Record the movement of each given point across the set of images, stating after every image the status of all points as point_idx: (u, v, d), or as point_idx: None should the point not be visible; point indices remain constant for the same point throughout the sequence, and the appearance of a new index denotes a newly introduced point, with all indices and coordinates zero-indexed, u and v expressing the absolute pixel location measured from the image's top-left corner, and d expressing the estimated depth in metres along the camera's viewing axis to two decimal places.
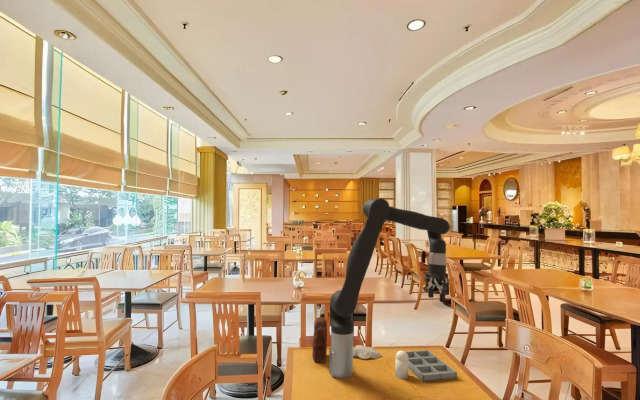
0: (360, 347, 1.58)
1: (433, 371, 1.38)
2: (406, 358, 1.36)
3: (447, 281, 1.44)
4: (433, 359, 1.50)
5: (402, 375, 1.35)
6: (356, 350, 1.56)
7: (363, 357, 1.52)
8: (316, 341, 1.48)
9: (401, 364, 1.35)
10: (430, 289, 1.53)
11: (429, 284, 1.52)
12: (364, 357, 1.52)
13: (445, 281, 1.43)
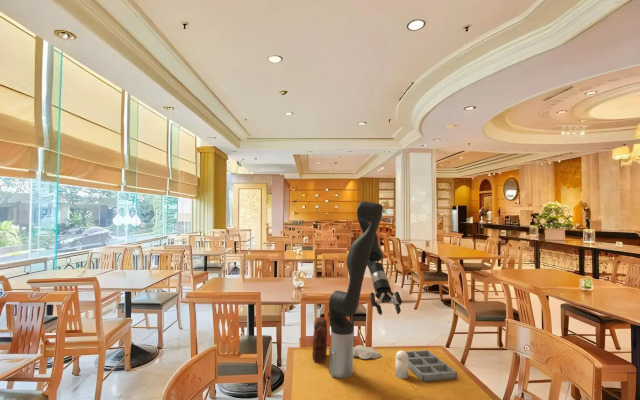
0: (360, 347, 1.58)
1: (433, 371, 1.38)
2: (406, 358, 1.36)
3: None
4: (433, 359, 1.50)
5: (402, 375, 1.35)
6: (356, 350, 1.56)
7: (363, 357, 1.52)
8: (316, 341, 1.48)
9: (401, 364, 1.35)
10: None
11: (381, 299, 1.53)
12: (364, 357, 1.52)
13: None
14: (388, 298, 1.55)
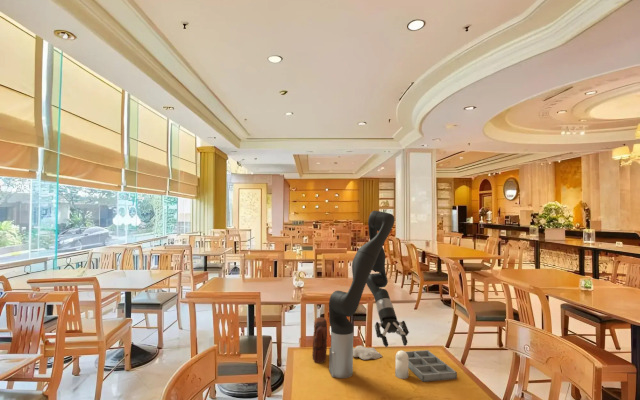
0: (361, 348, 1.57)
1: (433, 371, 1.38)
2: (406, 358, 1.36)
3: None
4: (433, 359, 1.50)
5: (402, 375, 1.35)
6: (357, 351, 1.55)
7: (364, 358, 1.52)
8: (316, 341, 1.48)
9: (401, 364, 1.35)
10: None
11: (386, 330, 1.46)
12: (365, 358, 1.52)
13: None
14: (394, 328, 1.48)
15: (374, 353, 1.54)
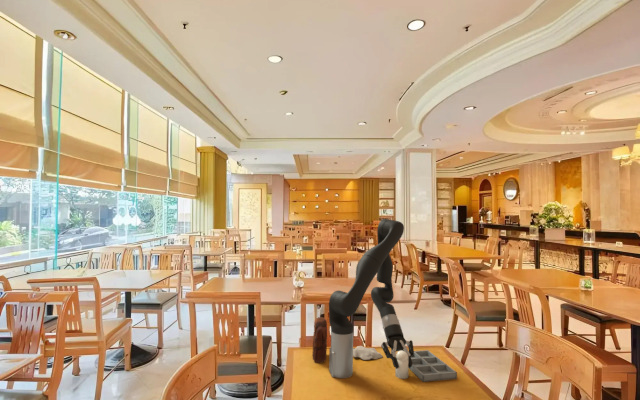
0: (361, 348, 1.57)
1: (433, 371, 1.38)
2: (406, 358, 1.36)
3: None
4: (433, 359, 1.50)
5: (402, 375, 1.35)
6: (357, 351, 1.55)
7: (364, 358, 1.51)
8: (316, 341, 1.48)
9: (401, 364, 1.35)
10: None
11: (395, 349, 1.39)
12: (365, 358, 1.51)
13: None
14: (399, 346, 1.41)
15: (375, 353, 1.54)
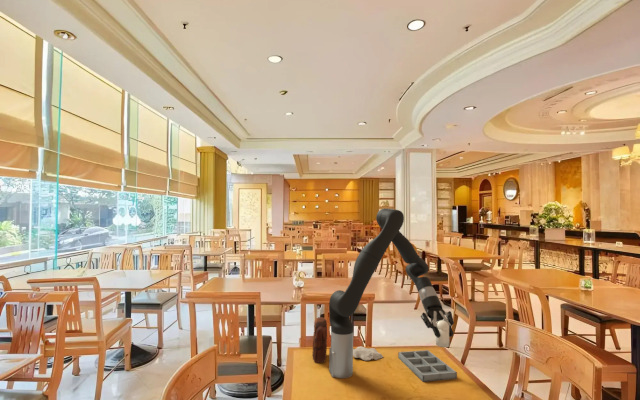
0: (361, 348, 1.56)
1: (433, 371, 1.38)
2: (447, 327, 1.37)
3: None
4: (433, 359, 1.50)
5: (443, 344, 1.37)
6: (358, 352, 1.54)
7: (365, 358, 1.51)
8: (316, 341, 1.48)
9: (442, 333, 1.37)
10: None
11: (435, 319, 1.41)
12: (366, 358, 1.51)
13: None
14: (439, 317, 1.43)
15: (375, 354, 1.54)
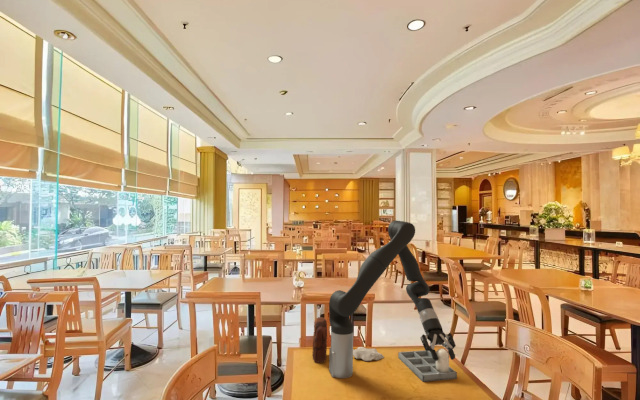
0: (362, 349, 1.56)
1: (433, 371, 1.38)
2: (447, 356, 1.37)
3: None
4: (433, 359, 1.50)
5: None
6: (358, 352, 1.53)
7: (366, 359, 1.50)
8: (316, 341, 1.48)
9: (442, 362, 1.36)
10: None
11: (434, 342, 1.40)
12: (367, 359, 1.50)
13: None
14: (440, 340, 1.42)
15: (376, 354, 1.53)
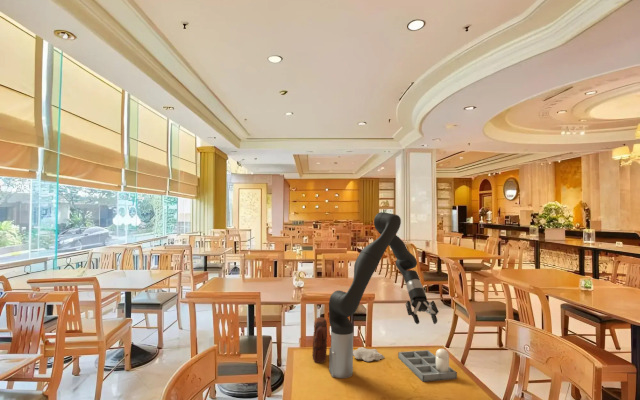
0: (363, 349, 1.55)
1: (433, 371, 1.38)
2: (447, 356, 1.37)
3: None
4: (433, 359, 1.50)
5: None
6: (359, 353, 1.53)
7: (367, 359, 1.50)
8: (316, 341, 1.48)
9: (442, 362, 1.36)
10: None
11: (417, 308, 1.53)
12: (368, 359, 1.50)
13: None
14: (424, 307, 1.55)
15: (377, 354, 1.53)
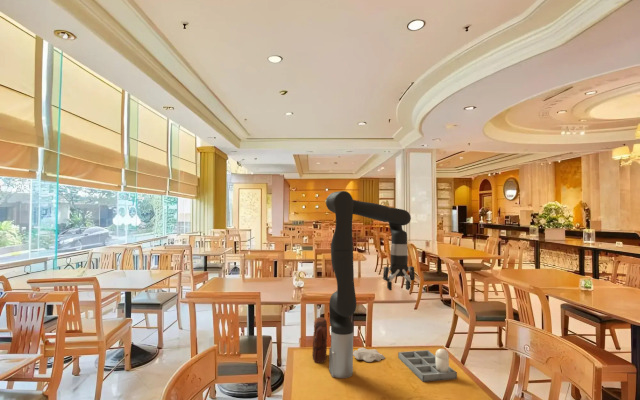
0: (363, 350, 1.55)
1: (433, 371, 1.38)
2: (447, 356, 1.37)
3: None
4: (433, 359, 1.50)
5: None
6: (360, 353, 1.52)
7: (368, 360, 1.49)
8: (316, 341, 1.48)
9: (442, 362, 1.36)
10: None
11: (394, 277, 1.49)
12: (369, 360, 1.49)
13: None
14: (402, 274, 1.51)
15: (377, 355, 1.53)
